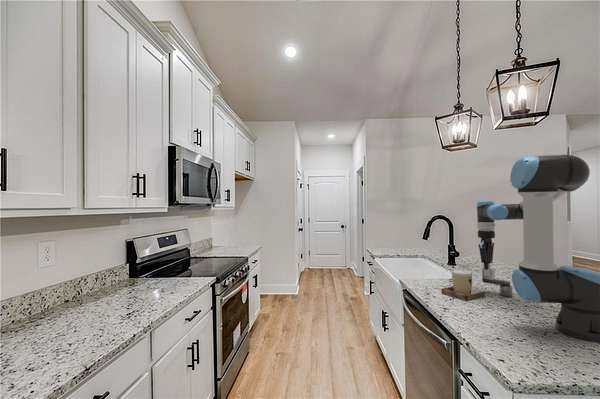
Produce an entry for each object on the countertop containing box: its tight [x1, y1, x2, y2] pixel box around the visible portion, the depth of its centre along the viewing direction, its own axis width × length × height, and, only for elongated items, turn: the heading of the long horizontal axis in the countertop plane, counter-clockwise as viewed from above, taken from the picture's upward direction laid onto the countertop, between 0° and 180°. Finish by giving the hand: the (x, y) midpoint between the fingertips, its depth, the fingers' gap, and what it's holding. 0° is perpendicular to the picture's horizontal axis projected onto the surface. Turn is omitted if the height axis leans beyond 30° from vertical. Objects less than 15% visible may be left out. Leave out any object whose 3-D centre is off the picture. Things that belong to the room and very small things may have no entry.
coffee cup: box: [451, 269, 473, 295], centre depth 149 cm, size 9×9×12 cm
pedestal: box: [499, 285, 513, 298], centre depth 146 cm, size 5×5×5 cm
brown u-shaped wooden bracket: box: [441, 285, 486, 302], centre depth 149 cm, size 14×14×2 cm
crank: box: [481, 267, 511, 286], centre depth 149 cm, size 12×4×7 cm, turn 43°
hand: (487, 275), depth 150 cm, fingers closed
